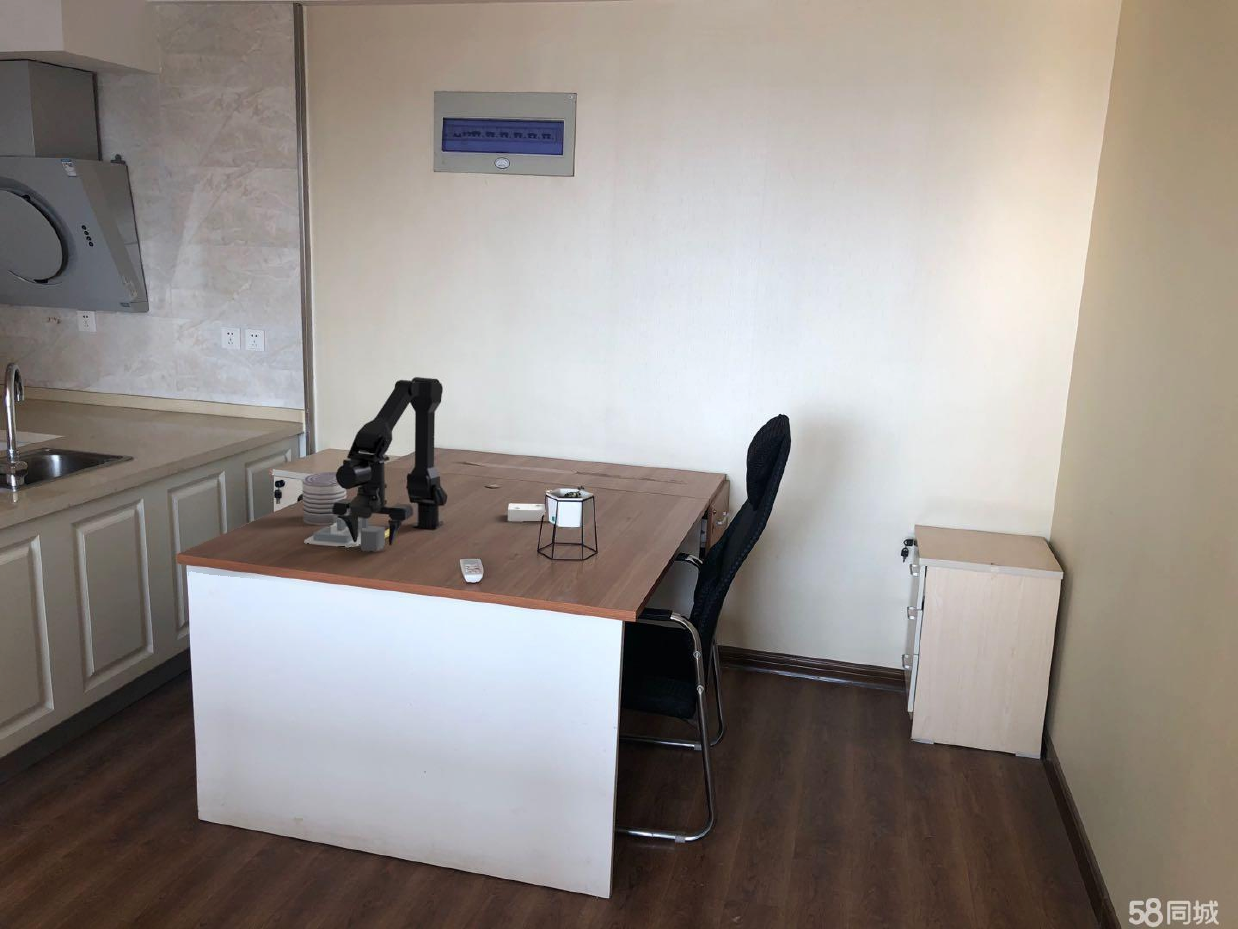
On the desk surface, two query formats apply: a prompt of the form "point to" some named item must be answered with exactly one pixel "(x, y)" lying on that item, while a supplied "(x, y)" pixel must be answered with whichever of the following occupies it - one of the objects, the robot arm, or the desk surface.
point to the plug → (373, 538)
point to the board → (337, 534)
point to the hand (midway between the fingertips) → (373, 543)
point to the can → (321, 498)
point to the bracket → (526, 512)
